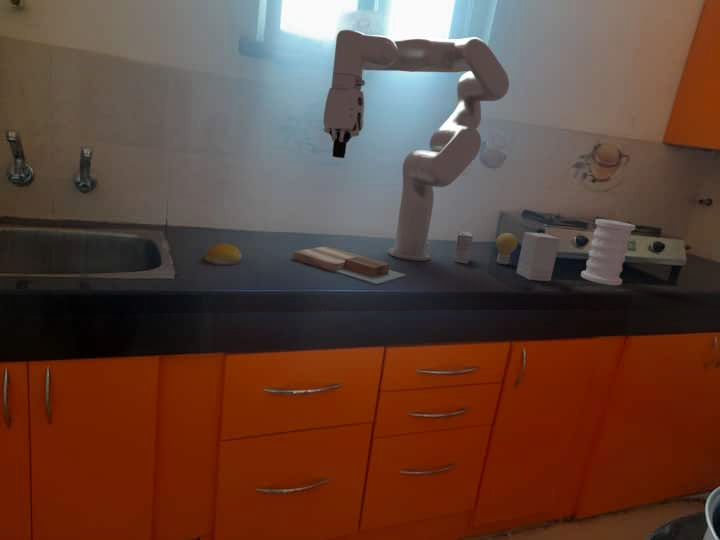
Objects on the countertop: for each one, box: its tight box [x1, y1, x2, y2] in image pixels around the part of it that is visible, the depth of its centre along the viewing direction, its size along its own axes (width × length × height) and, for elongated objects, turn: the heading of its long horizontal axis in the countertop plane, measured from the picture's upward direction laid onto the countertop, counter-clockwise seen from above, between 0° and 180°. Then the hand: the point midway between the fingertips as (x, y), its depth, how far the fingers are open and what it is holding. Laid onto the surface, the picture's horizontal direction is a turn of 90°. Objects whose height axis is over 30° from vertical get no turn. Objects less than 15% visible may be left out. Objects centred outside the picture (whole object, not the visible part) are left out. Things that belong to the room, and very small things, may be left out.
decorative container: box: [580, 218, 636, 286], centre depth 152 cm, size 12×12×18 cm
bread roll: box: [204, 243, 242, 266], centre depth 121 cm, size 8×9×4 cm
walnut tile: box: [344, 255, 390, 278], centre depth 126 cm, size 7×9×2 cm
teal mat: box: [335, 269, 407, 286], centre depth 126 cm, size 14×12×1 cm
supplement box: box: [515, 231, 561, 282], centre depth 144 cm, size 7×7×13 cm
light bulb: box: [495, 232, 518, 266], centre depth 157 cm, size 6×6×10 cm
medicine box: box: [453, 230, 473, 265], centre depth 155 cm, size 8×4×9 cm, turn 168°
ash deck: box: [292, 245, 368, 273], centre depth 133 cm, size 14×14×2 cm
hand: (338, 157), depth 132 cm, fingers closed
